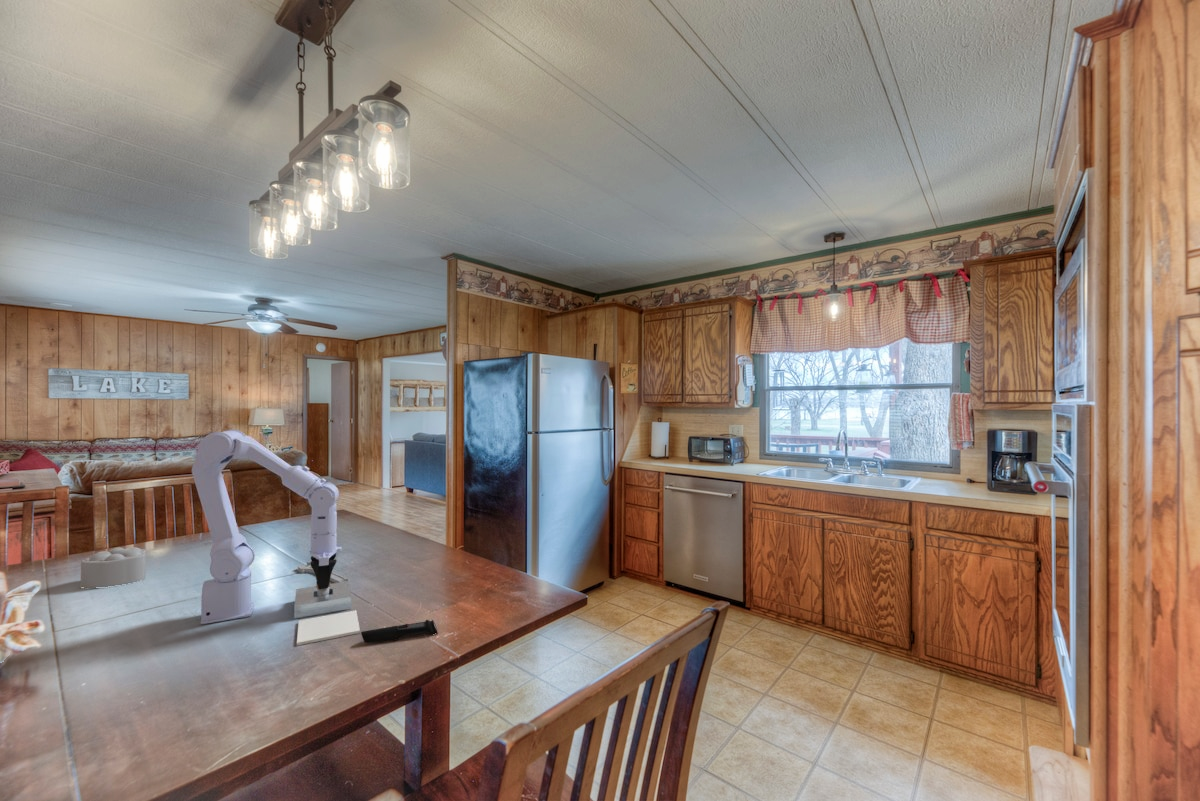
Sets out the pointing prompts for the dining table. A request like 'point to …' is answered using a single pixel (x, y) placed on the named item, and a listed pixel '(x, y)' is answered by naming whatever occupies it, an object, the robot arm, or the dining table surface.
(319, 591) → the key
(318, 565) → the robot arm
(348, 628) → the mat
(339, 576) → the adjustable wrench
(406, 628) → the electric trimmer
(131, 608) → the dining table surface
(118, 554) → the egg container
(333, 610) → the socket block
